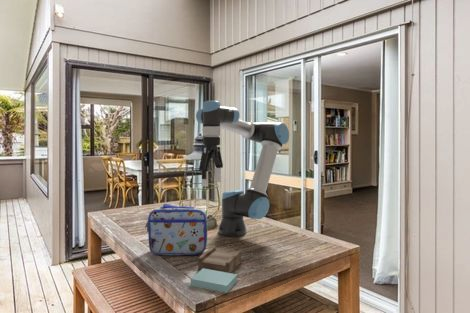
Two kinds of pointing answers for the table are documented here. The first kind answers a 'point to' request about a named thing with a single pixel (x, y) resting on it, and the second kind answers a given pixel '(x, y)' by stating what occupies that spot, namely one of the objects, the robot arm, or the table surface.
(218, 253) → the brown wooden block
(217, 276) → the teal rectangular block
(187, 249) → the lunch box
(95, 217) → the table surface
